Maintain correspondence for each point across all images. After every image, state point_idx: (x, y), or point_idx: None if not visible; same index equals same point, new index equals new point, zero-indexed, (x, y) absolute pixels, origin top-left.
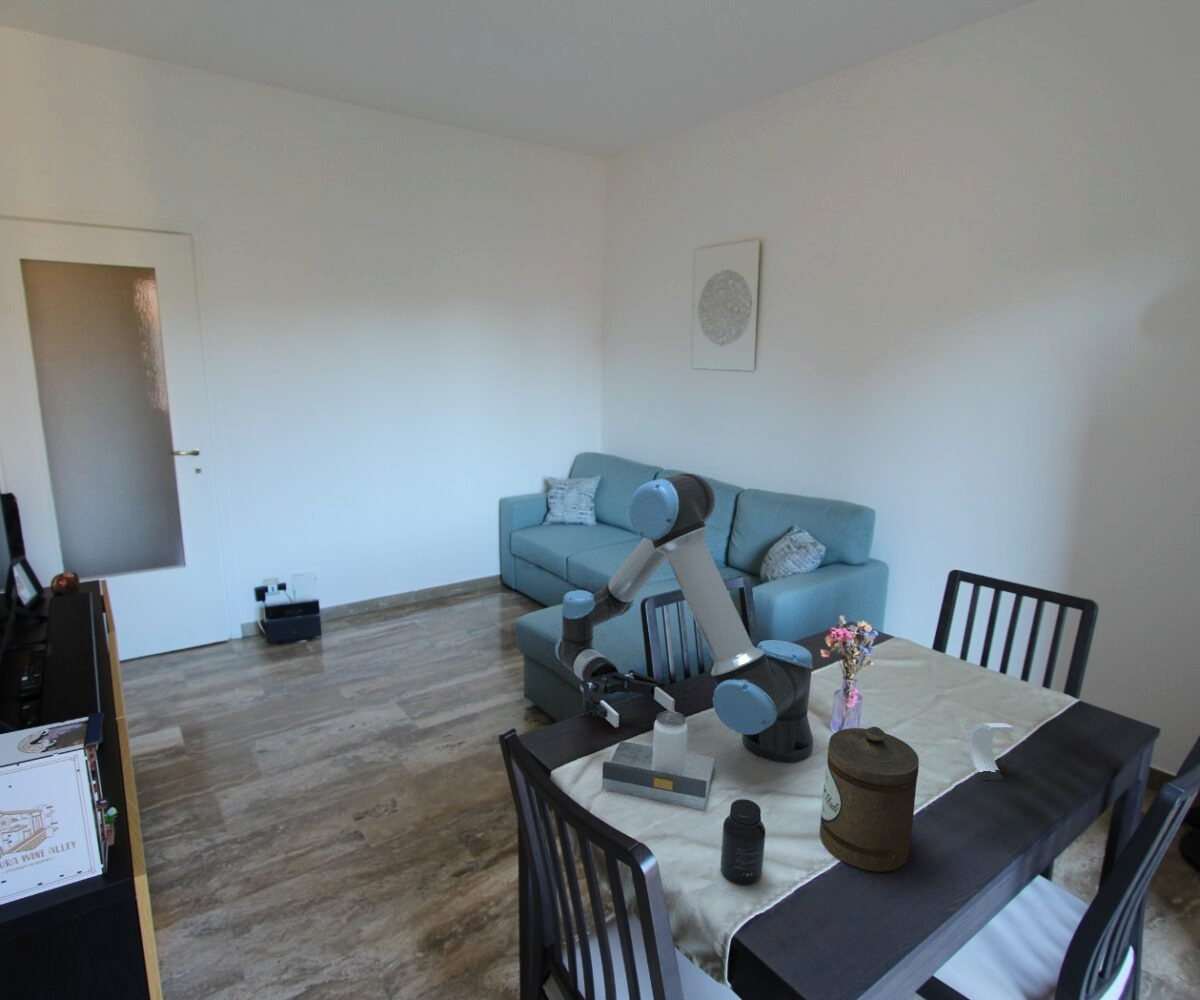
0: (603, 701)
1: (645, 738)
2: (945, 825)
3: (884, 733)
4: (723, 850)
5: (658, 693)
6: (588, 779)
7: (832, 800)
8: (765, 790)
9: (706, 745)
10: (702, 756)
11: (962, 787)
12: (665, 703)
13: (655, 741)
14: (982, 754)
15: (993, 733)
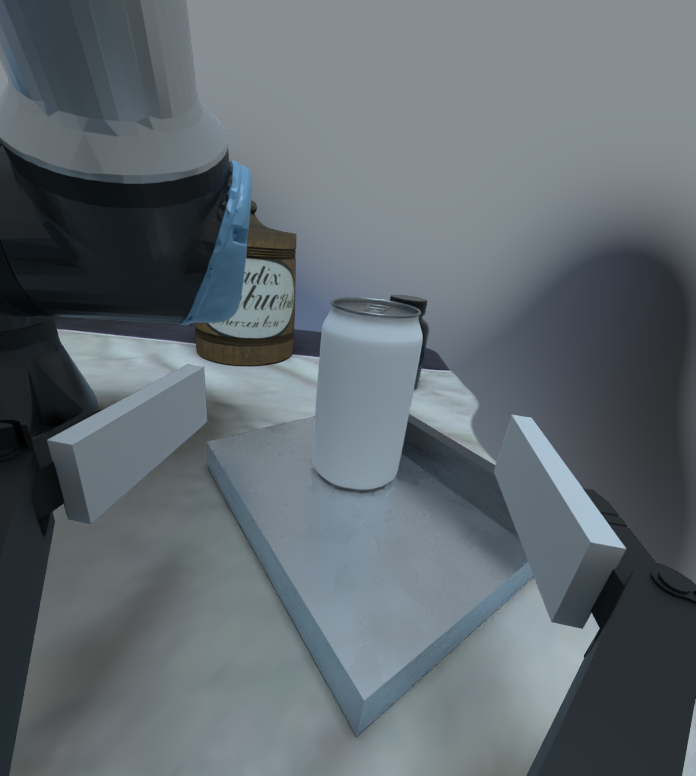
0: (589, 527)
1: (144, 752)
2: (161, 330)
3: None
4: (423, 357)
5: (120, 438)
6: (576, 648)
7: (288, 296)
8: (217, 405)
9: (80, 530)
10: (220, 456)
11: (60, 327)
12: (176, 426)
13: (415, 378)
14: None
15: None
